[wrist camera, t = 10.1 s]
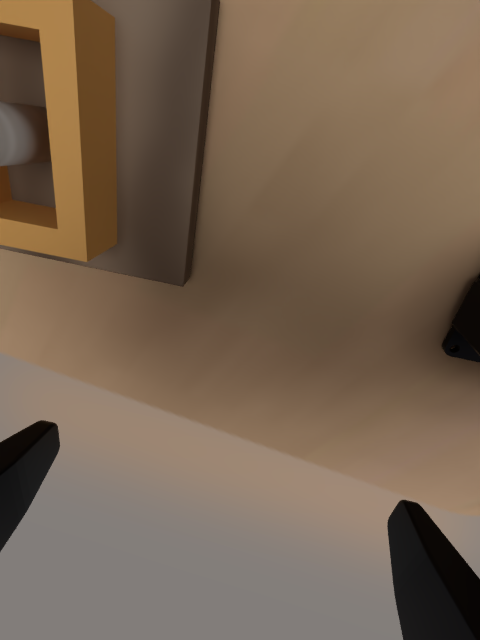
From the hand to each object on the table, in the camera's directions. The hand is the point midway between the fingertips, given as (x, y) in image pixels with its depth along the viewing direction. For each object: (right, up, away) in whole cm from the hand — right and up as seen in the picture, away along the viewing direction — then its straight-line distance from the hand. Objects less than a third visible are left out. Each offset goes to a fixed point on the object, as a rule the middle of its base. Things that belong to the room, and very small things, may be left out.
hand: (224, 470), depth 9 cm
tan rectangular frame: (-8, +12, +7) cm, 16 cm away
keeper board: (-8, +13, +8) cm, 17 cm away
